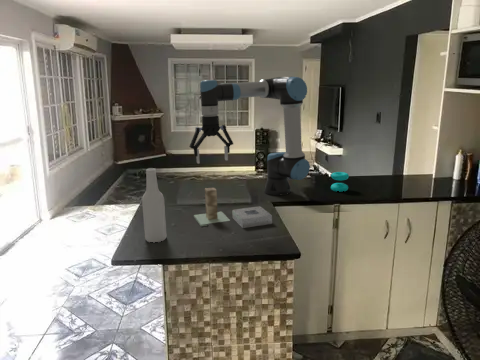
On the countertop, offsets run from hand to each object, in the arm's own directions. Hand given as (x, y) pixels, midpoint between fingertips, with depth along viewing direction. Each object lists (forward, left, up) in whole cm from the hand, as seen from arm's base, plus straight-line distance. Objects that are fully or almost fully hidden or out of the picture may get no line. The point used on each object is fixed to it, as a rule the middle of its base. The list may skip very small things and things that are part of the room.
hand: (212, 161), depth 187 cm
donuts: (-81, -18, -27) cm, 87 cm away
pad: (+2, +3, -27) cm, 27 cm away
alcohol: (+30, +17, -27) cm, 44 cm away
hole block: (-14, +14, -27) cm, 33 cm away
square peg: (+2, +3, -26) cm, 26 cm away
